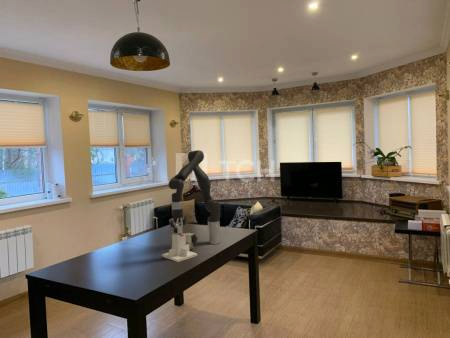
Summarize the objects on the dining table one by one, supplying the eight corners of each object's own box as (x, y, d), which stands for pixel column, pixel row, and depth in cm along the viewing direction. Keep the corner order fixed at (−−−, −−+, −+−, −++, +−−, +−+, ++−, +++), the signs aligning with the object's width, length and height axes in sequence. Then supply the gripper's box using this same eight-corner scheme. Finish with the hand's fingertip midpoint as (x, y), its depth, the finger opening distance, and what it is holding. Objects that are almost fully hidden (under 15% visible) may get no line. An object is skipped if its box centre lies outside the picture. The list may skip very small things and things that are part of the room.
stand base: (181, 250, 244) (180, 229, 244) (197, 255, 232) (196, 232, 231) (162, 256, 233) (160, 233, 232) (177, 262, 220) (176, 237, 219)
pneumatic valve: (193, 250, 244) (193, 234, 244) (181, 248, 251) (181, 232, 250) (198, 248, 249) (197, 232, 248) (186, 246, 256) (185, 230, 255)
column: (180, 252, 235) (178, 224, 234) (183, 253, 232) (182, 225, 231) (175, 253, 232) (173, 225, 231) (178, 254, 229) (177, 226, 228)
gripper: (182, 206, 238) (183, 229, 239) (165, 209, 228) (166, 233, 229) (188, 207, 233) (189, 231, 233) (172, 210, 223) (173, 235, 224)
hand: (178, 232), depth 231 cm, fingers closed on column, 4 cm apart
